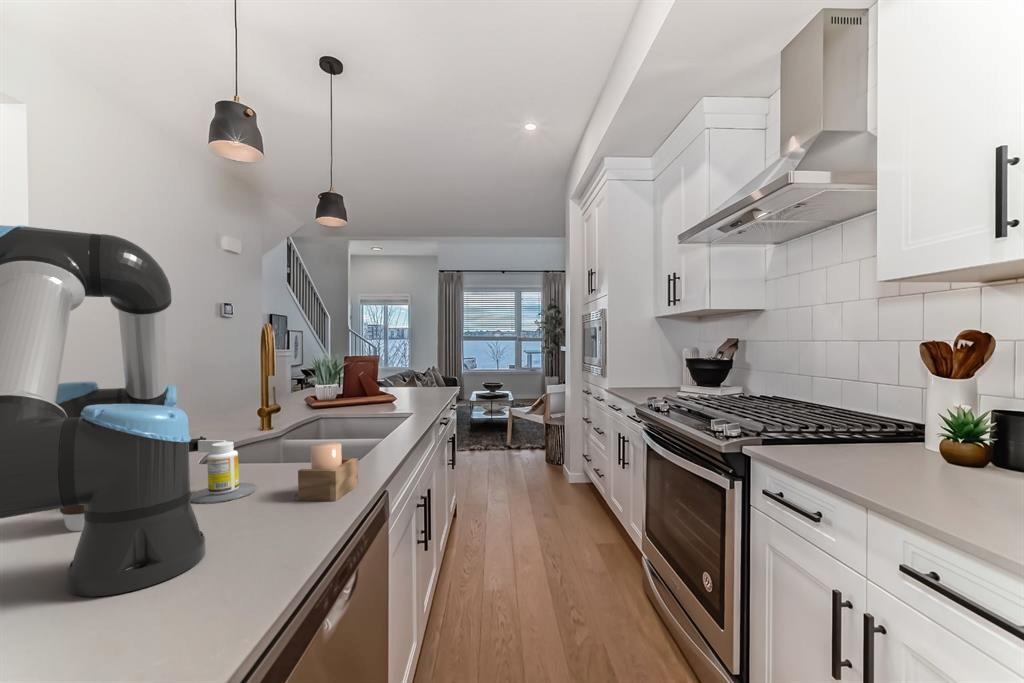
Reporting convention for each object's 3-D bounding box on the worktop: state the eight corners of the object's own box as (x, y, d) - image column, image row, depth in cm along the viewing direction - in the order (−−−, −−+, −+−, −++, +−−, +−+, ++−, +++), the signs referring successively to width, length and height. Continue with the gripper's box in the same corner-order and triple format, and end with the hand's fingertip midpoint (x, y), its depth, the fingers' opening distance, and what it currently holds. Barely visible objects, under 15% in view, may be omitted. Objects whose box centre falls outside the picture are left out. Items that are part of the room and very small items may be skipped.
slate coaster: (230, 504, 90) (230, 501, 90) (174, 503, 91) (174, 500, 91) (268, 485, 102) (268, 482, 102) (219, 484, 103) (219, 482, 103)
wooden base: (336, 500, 91) (335, 471, 91) (293, 500, 92) (293, 470, 92) (358, 485, 101) (357, 458, 101) (319, 484, 101) (319, 457, 101)
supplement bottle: (229, 485, 100) (228, 439, 100) (244, 488, 98) (243, 441, 98) (202, 493, 95) (201, 445, 95) (218, 497, 93) (216, 447, 93)
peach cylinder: (333, 497, 93) (332, 448, 93) (305, 497, 93) (305, 448, 93) (347, 488, 99) (346, 442, 99) (321, 487, 99) (320, 442, 99)
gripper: (164, 455, 112) (242, 456, 110) (50, 487, 88) (148, 490, 85) (163, 425, 112) (242, 425, 110) (50, 449, 88) (147, 450, 85)
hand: (201, 453), depth 98 cm, fingers open, 13 cm apart
